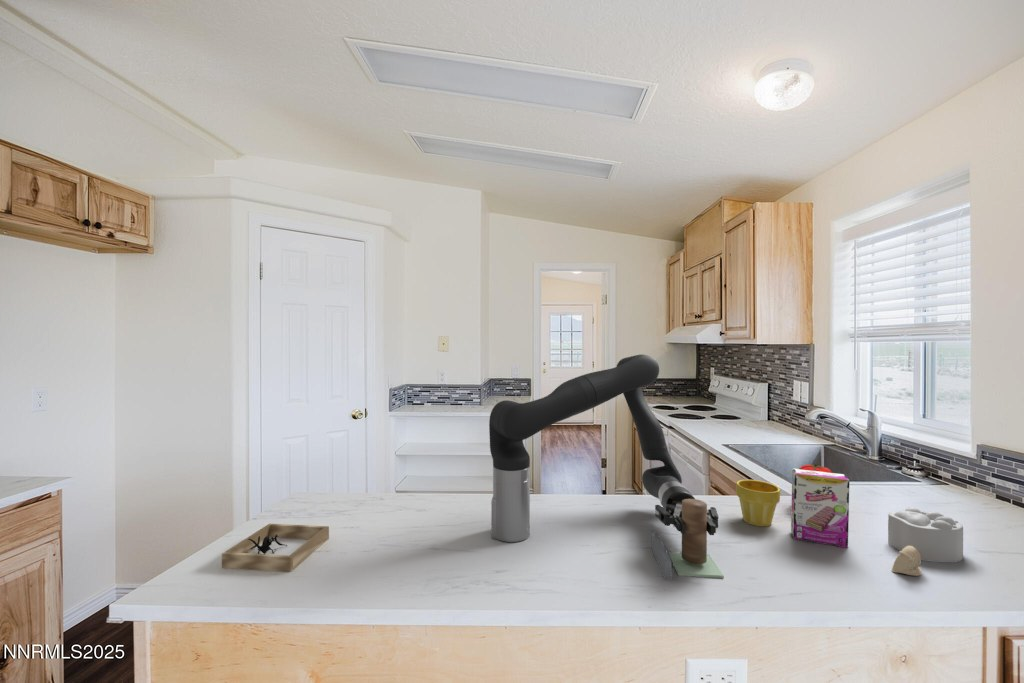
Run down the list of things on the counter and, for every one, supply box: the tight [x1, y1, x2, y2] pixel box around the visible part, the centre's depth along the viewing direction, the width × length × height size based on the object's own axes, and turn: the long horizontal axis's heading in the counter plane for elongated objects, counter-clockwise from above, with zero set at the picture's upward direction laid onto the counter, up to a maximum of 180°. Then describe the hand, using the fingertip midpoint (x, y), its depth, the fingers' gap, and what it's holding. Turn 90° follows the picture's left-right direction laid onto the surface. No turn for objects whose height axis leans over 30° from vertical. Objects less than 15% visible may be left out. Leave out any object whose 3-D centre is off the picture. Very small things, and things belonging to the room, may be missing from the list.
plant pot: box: [735, 479, 781, 527], centre depth 119 cm, size 10×10×10 cm
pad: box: [667, 551, 725, 579], centre depth 96 cm, size 9×9×1 cm
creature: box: [248, 529, 288, 555], centre depth 102 cm, size 8×5×8 cm
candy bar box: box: [790, 468, 850, 549], centre depth 108 cm, size 11×5×16 cm, turn 65°
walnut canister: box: [681, 498, 708, 564], centre depth 96 cm, size 5×5×12 cm
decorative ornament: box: [891, 546, 922, 577], centre depth 94 cm, size 4×8×5 cm, turn 124°
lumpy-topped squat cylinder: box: [887, 507, 964, 563], centre depth 103 cm, size 10×13×9 cm
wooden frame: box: [221, 523, 330, 573], centre depth 102 cm, size 16×16×3 cm
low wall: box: [651, 532, 672, 581], centre depth 97 cm, size 1×13×4 cm, turn 174°
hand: (698, 529), depth 93 cm, fingers open, 5 cm apart
